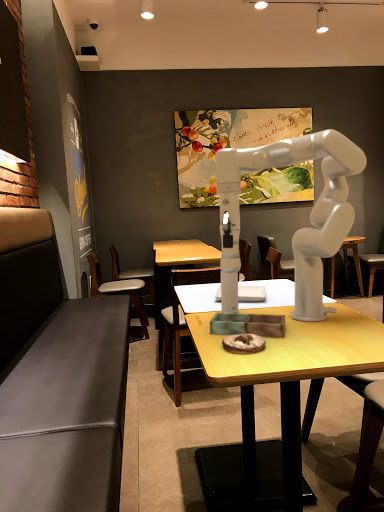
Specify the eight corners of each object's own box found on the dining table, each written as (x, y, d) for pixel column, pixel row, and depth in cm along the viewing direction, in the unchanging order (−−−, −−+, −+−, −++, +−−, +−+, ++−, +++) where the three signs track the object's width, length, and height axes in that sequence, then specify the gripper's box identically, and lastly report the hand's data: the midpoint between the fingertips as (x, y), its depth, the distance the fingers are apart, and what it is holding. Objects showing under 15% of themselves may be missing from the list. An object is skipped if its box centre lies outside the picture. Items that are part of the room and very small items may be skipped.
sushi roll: (217, 339, 122) (216, 326, 122) (266, 338, 121) (266, 325, 121) (217, 357, 108) (217, 343, 107) (273, 357, 107) (273, 342, 106)
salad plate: (266, 304, 162) (266, 296, 162) (214, 303, 166) (214, 295, 165) (265, 292, 183) (265, 285, 183) (219, 292, 186) (219, 285, 186)
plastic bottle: (227, 270, 132) (226, 210, 130) (245, 272, 128) (243, 209, 125) (216, 273, 127) (214, 210, 125) (234, 275, 123) (232, 210, 120)
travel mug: (238, 316, 145) (237, 262, 142) (220, 315, 146) (219, 262, 144) (240, 311, 151) (239, 259, 148) (222, 311, 152) (221, 259, 150)
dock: (285, 326, 131) (285, 315, 130) (283, 337, 120) (283, 325, 120) (216, 323, 137) (216, 312, 136) (209, 333, 126) (209, 321, 126)
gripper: (236, 188, 115) (237, 249, 117) (244, 189, 131) (245, 243, 134) (211, 189, 117) (212, 250, 119) (222, 190, 133) (223, 244, 136)
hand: (230, 246), depth 126 cm, fingers closed on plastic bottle, 6 cm apart
